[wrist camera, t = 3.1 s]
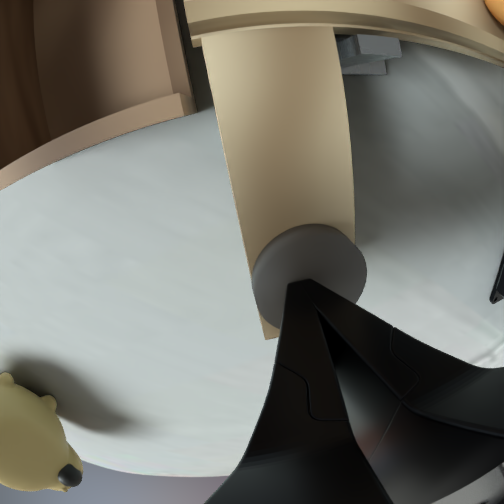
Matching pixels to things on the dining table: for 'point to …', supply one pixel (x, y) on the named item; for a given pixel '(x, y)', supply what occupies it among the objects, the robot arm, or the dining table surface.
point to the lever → (307, 123)
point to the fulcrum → (365, 53)
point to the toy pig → (33, 442)
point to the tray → (85, 76)
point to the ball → (496, 9)
